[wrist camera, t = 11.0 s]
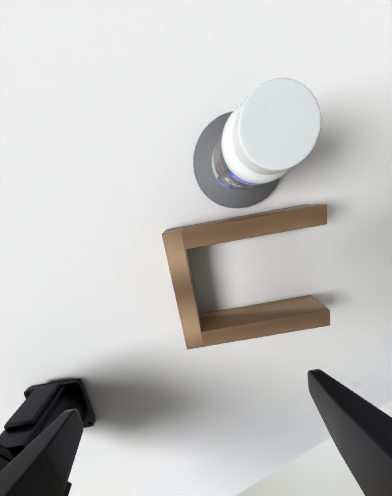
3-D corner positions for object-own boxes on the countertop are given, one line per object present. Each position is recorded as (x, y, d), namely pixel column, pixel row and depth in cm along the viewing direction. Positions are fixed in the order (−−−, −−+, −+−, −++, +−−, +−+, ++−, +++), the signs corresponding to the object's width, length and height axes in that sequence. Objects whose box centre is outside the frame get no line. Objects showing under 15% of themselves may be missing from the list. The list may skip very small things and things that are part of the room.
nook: (311, 308, 21) (330, 325, 18) (187, 329, 22) (187, 349, 19) (305, 204, 19) (326, 204, 16) (166, 229, 19) (161, 234, 16)
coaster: (284, 199, 19) (287, 199, 18) (201, 214, 19) (201, 215, 18) (277, 105, 17) (280, 102, 16) (186, 123, 17) (185, 120, 17)
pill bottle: (215, 194, 18) (235, 186, 10) (207, 138, 17) (222, 76, 9) (267, 185, 18) (331, 170, 10) (262, 128, 17) (330, 57, 9)
